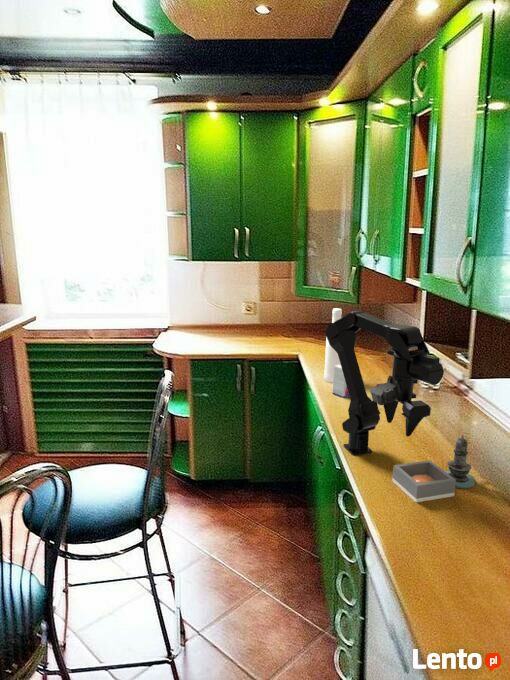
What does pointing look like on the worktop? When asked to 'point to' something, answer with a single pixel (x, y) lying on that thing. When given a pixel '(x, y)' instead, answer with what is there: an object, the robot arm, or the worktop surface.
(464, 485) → the slate coaster
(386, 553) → the worktop surface
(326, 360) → the bottle
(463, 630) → the worktop surface
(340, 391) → the supplement box
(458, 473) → the salt shaker
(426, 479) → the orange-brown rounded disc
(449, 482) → the grey square tray
